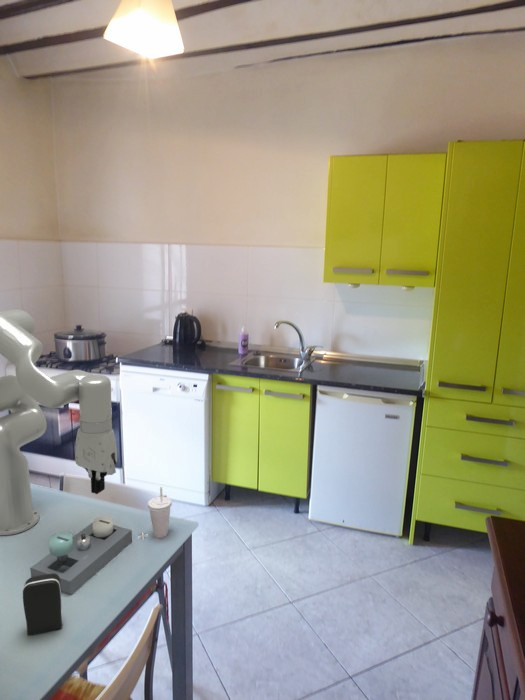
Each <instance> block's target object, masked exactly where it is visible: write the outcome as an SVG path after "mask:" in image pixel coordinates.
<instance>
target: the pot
mask: <svg viewBox="0 0 525 700" xmlns="http://www.w3.org/2000/svg"><path fill="white" fill-rule="evenodd" d="M77 545H78V550H79V551H86V550H88V549H90V547H91V546H90V536H88V535H85V534H82V535H81V536H80V537H79V538H78V539H77Z"/></svg>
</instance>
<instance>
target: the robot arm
mask: <svg viewBox="0 0 525 700" xmlns="http://www.w3.org/2000/svg"><path fill="white" fill-rule="evenodd" d="M35 331H36V324H35V320H34V318H33V316H31V314H29V313H28V312H27V311H25V310H22V309H19V308H18V309H17V308H16V309H9V310H2V311H1V310H0V355H1V356H3V357H4V358H5V359H6V360H8V361H9V362H10V363H11V364H12V365H14V367H15V375H12V374H11V375H10V374H9V375H4V376H0V414H1V413H3V412H6V411H10V413H9V414H6V415H3V416H0V536H11V535H16V534H20V533H23V532H25V531H27V530H30V529H31V528H33V527H34V526H35V525H36V524H37V523H38V522H39V520H40V513H39V511H38V510H36V509H34V508H33V502H32V499H33V498H32V491H31V490H32V489H31V480H30V470H29V469H30V468H29V462H28V459H27V456H25V455H24V454H23V453H22V452H21V449H20V448H21V447H23V446H25V445H27V444H29V443H31V442H33V441H35V440H37V439H39V438H40V437H42V436H43V435H44V434H45V432H46V430H47V428H48V427H47V425H48V424H47V419H46V416H45V414H44V413H43V411H42V409H41V407H40V406H43V407H45V408H46V409H47V408H48V409H57V408H60V407H63V406H66V405H67V404H71V403H72V402H77V401H79V402H78V404H79V417H78V419H77V420H78V423H79V426H80V427H79V428H78V429H77V432H76V438H75V445H74V446H75V449H74V455H75V456H74V457H75V458H74V459H75V460H74V461H75V464H76V465H77V466H78V467H81V468H82V469H84V470H85V471H86V472H87V475H88V478H89V479H90V488H91V489H90V490H91V491H90V492H91V494H95V495H98V494H100V493H101V492H103V491H104V490H105V486H106V482H105V477H106V476H113V475H114V474H116V473H117V471H116V466H117V465H118V448H117V441H116V440H117V439H116V435H115V431H114V429H113V422H112V421H113V420H112V418H113V417H112V416H113V415H112V414H113V413H112V412H113V411H112V382H111V378H109V377H108V376H106V375H102V374H93V373H90V372H87V371H84V370H81V369H73V370H72V369H71V370H70V371H69V370H68V371H67V372H63V373H59V374H57V375H52V376H50V377H49V376H47V375H46V374H45V373H44V372H42V371H41V370H40V369H39V368H38V367H37V366H36V365H35V363H37V361H38V360H39V359H40V357H41V355H42V354H43V350H44V346H43V343H42V342H41V341H40V339H38V338H36V337H35V336H34V335H33V334H34V333H35ZM39 404H40V405H39Z"/></svg>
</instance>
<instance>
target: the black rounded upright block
mask: <svg viewBox="0 0 525 700" xmlns="http://www.w3.org/2000/svg"><path fill="white" fill-rule="evenodd" d="M62 593H63V592H61V582H60V577H59V576H58V575H57V574H54V573H52V574H45V575H40V576H35V577H31V576H30V577H29V578H28V579H27V580H26V581H25V583H24V585H23V589H22V603H23V610H24V617H25V622H26V632H27V635H29V636H31V635H37V634H42V633H47V632H51V631H54V630H55V631H56V630H59V629H62V627H63V626H64V623H63V622H64V621H63V612H62V610H63V609H62V608H63V605H62Z"/></svg>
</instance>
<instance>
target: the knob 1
mask: <svg viewBox="0 0 525 700" xmlns="http://www.w3.org/2000/svg"><path fill="white" fill-rule="evenodd" d="M72 537H73V534H72V533H70V532H65V531H62V532H58V533H55V534H54V535H52V536H51V537H50V538H49V540H48V541H49V543H48V545H49V554H51V555H52V556H57V561H58V562H64V561H66V560H67V559H68V553H70V552H71V551H72V550H73V540H72Z"/></svg>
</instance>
